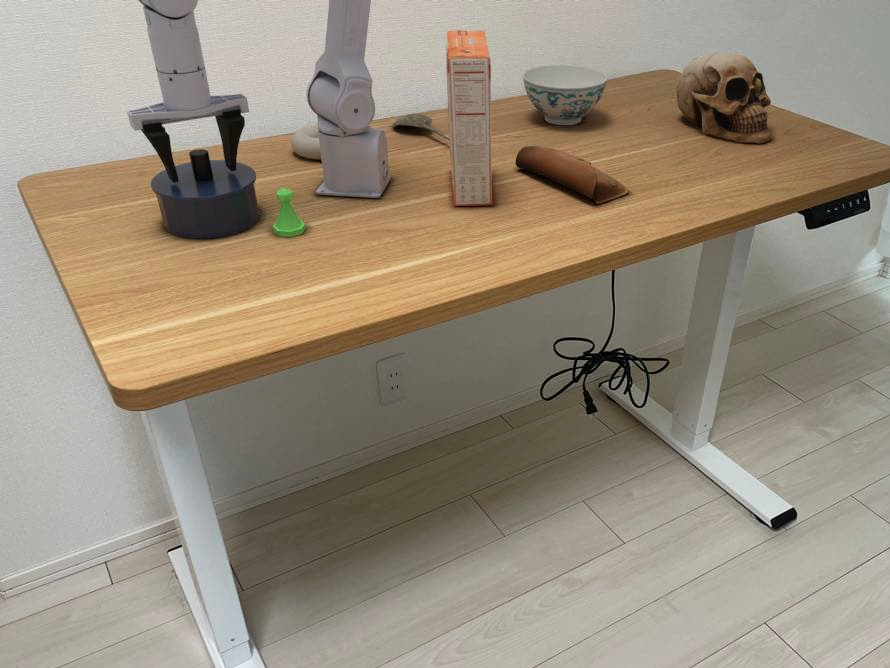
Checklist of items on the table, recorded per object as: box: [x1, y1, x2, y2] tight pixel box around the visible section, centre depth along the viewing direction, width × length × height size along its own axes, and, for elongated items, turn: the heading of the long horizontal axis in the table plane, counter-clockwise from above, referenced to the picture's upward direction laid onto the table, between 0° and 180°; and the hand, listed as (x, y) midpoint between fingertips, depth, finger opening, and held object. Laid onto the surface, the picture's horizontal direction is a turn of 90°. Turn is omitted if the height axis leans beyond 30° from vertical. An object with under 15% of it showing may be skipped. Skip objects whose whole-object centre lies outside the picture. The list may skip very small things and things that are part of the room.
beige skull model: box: [676, 52, 772, 144], centre depth 150 cm, size 16×17×13 cm
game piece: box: [272, 187, 307, 238], centre depth 112 cm, size 4×4×6 cm
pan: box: [155, 183, 260, 240], centre depth 115 cm, size 12×12×5 cm
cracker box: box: [445, 29, 493, 207], centre depth 121 cm, size 14×6×21 cm, turn 5°
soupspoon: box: [392, 113, 450, 141], centre depth 143 cm, size 22×3×7 cm
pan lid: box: [150, 148, 257, 201], centre depth 112 cm, size 13×13×5 cm
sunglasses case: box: [515, 145, 630, 205], centre depth 129 cm, size 18×7×7 cm
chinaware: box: [522, 64, 608, 126], centre depth 152 cm, size 15×15×8 cm
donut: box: [290, 124, 322, 161], centre depth 137 cm, size 10×4×10 cm
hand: (203, 174), depth 112 cm, fingers open, 7 cm apart
